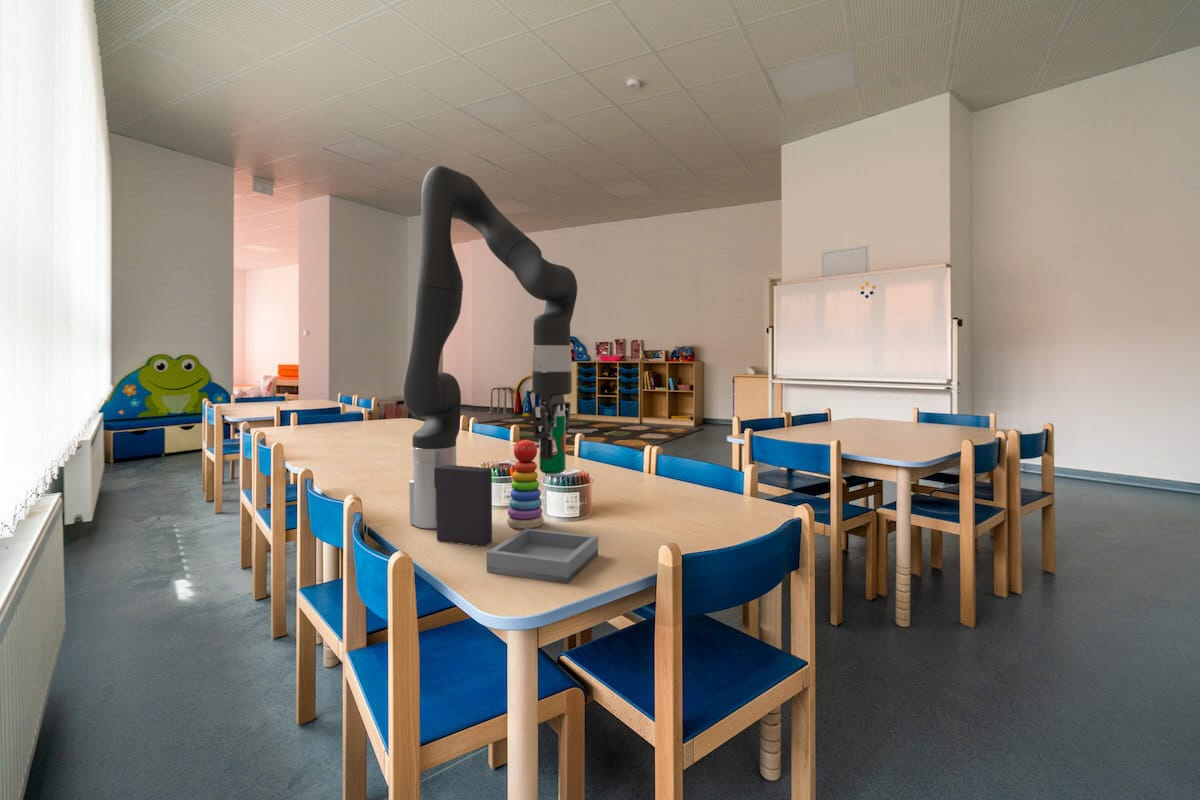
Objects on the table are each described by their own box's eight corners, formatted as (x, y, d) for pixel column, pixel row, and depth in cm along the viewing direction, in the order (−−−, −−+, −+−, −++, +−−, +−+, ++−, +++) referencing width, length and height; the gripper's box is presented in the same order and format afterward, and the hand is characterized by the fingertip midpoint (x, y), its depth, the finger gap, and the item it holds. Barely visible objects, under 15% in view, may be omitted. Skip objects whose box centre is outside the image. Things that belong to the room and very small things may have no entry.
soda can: (534, 472, 114) (533, 410, 113) (550, 468, 118) (549, 408, 117) (555, 475, 111) (554, 411, 110) (570, 471, 115) (570, 409, 114)
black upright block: (494, 541, 118) (493, 467, 116) (483, 548, 113) (482, 471, 112) (447, 535, 121) (446, 463, 120) (434, 541, 117) (433, 467, 116)
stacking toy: (550, 526, 128) (550, 441, 127) (517, 532, 124) (516, 443, 123) (533, 518, 135) (533, 436, 134) (501, 523, 130) (500, 439, 129)
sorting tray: (486, 571, 101) (486, 552, 101) (525, 545, 115) (525, 528, 115) (567, 583, 96) (567, 562, 96) (598, 554, 110) (598, 536, 110)
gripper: (548, 368, 121) (548, 450, 122) (517, 370, 107) (518, 462, 108) (583, 369, 118) (583, 452, 120) (555, 370, 105) (556, 464, 106)
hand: (552, 456), depth 114 cm, fingers closed on soda can, 5 cm apart
